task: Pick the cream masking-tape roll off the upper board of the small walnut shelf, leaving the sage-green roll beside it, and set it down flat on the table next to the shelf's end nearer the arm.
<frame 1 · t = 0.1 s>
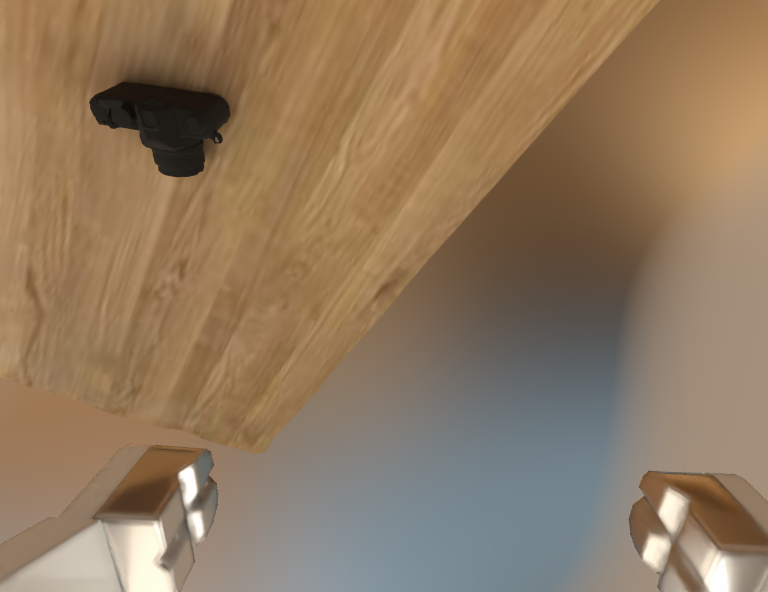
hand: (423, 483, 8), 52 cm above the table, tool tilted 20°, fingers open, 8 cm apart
film camera: (181, 122, 55), on the table
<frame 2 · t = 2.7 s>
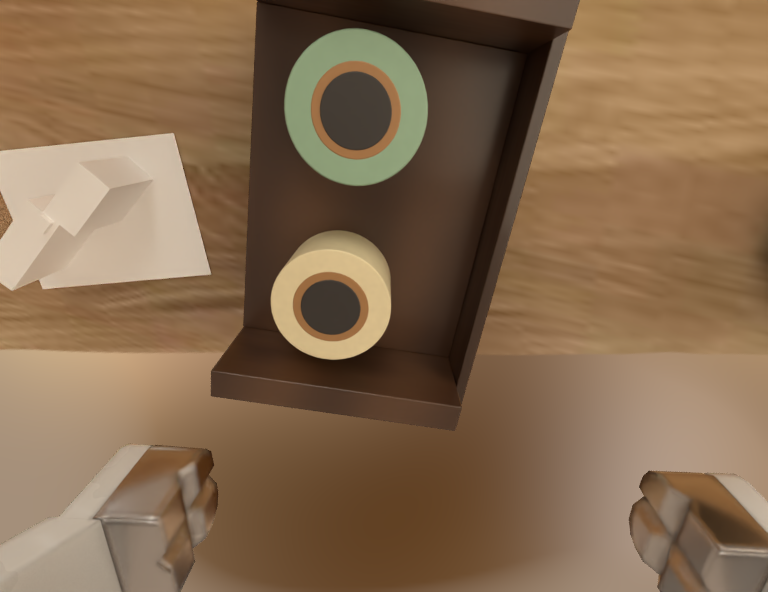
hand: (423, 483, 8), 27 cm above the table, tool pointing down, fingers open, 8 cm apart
shelf: (373, 184, 32), on the table
cream tape roll: (339, 280, 24), point 10 cm above the table, touching shelf
napkin holder: (105, 216, 33), on the table
sage tape roll: (361, 115, 21), point 10 cm above the table, touching shelf
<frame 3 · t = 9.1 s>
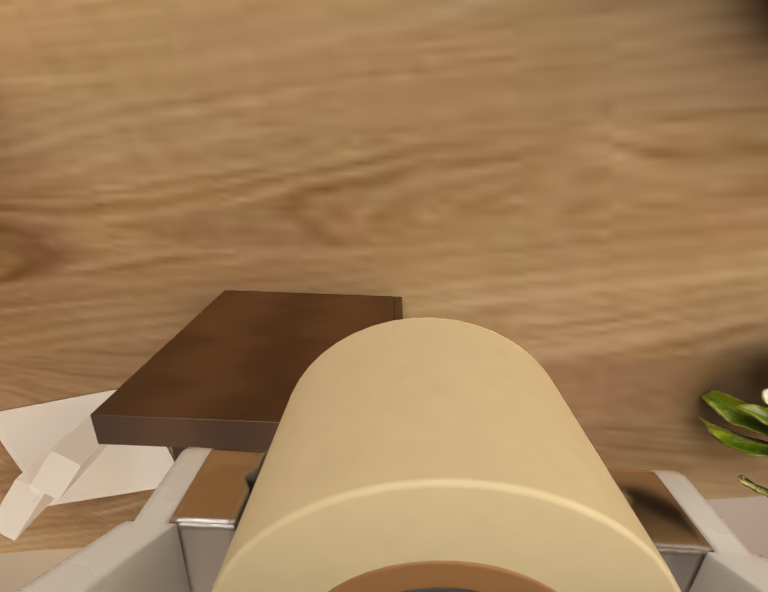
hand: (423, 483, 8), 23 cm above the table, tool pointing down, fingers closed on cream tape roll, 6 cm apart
shelf: (313, 403, 35), on the table
cream tape roll: (422, 442, 9), point 22 cm above the table, touching gripper
napkin holder: (88, 448, 38), on the table
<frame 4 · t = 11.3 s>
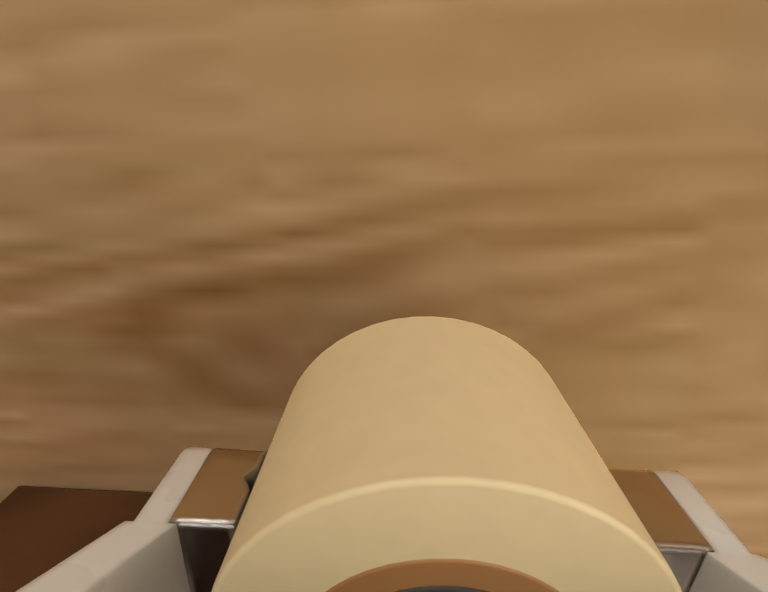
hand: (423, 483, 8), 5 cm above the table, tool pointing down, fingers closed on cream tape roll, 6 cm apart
cream tape roll: (422, 441, 9), point 4 cm above the table, touching gripper
when the fingers open (1 cm above the table, at t = 13.0 s): cream tape roll stays where it is, on the table.
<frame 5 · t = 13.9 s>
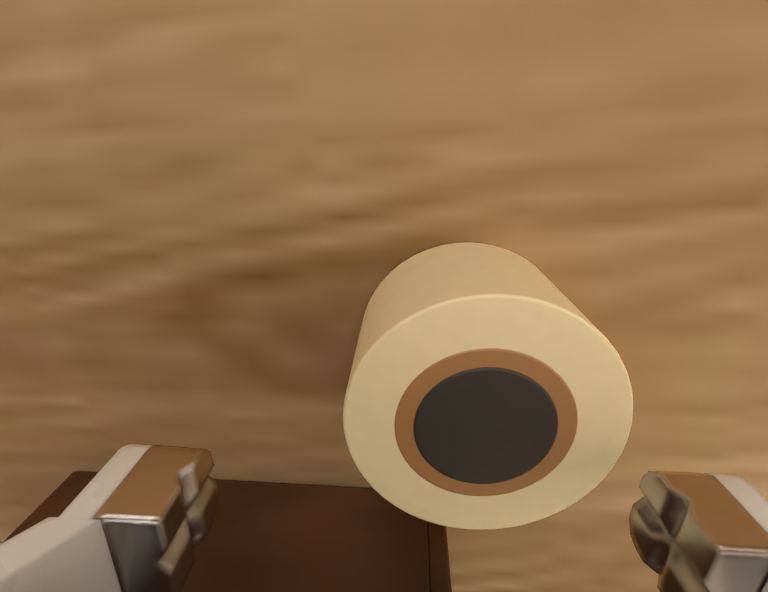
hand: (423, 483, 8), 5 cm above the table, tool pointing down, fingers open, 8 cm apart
cream tape roll: (460, 339, 12), on the table
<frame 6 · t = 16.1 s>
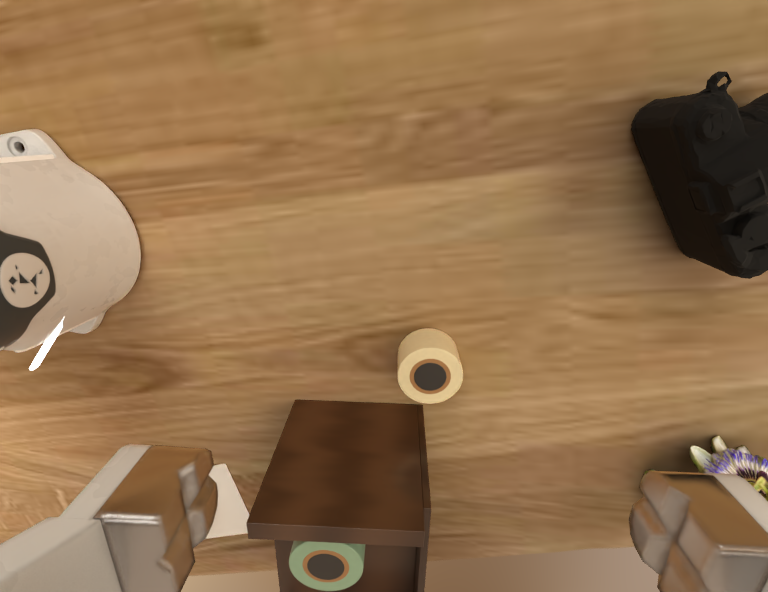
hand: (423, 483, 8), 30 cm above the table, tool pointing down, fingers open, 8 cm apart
film camera: (704, 162, 34), on the table
passion flower: (698, 468, 45), on the table
shelf: (356, 475, 47), on the table
cream tape roll: (427, 354, 41), on the table
napkin holder: (186, 505, 50), on the table
sage tape roll: (333, 522, 36), point 10 cm above the table, touching shelf
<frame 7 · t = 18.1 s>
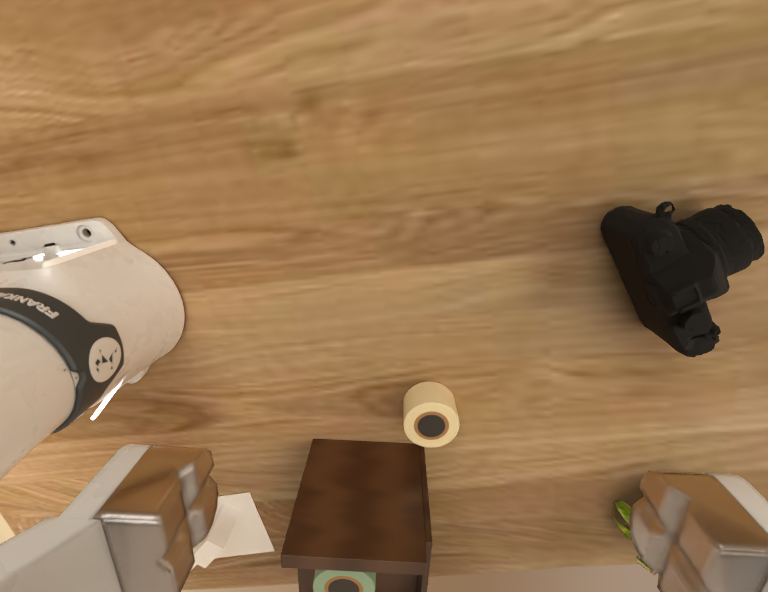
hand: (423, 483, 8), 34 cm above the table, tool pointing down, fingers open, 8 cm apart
film camera: (661, 254, 41), on the table
passion flower: (661, 499, 52), on the table
shelf: (364, 502, 54), on the table
cream tape roll: (428, 403, 48), on the table
napkin holder: (212, 527, 57), on the table
sage tape roll: (348, 549, 43), point 10 cm above the table, touching shelf
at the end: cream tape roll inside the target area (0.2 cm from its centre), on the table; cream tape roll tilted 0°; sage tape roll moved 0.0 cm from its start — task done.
